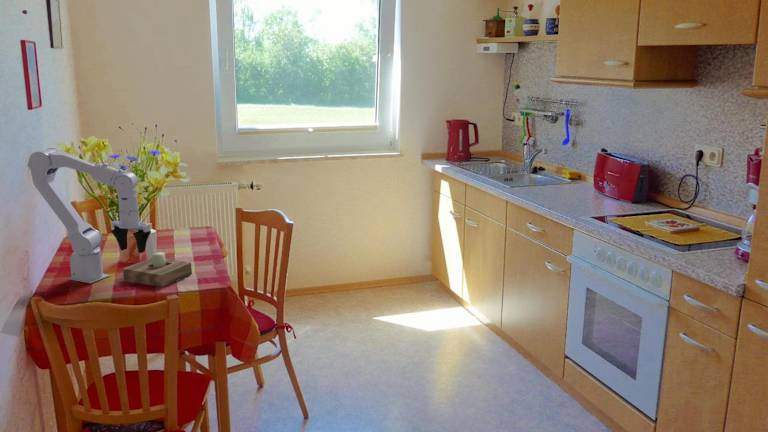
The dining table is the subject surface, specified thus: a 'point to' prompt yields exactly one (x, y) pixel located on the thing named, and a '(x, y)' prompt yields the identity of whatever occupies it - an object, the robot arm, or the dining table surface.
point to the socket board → (157, 272)
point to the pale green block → (159, 260)
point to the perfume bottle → (151, 242)
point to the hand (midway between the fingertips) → (132, 250)
